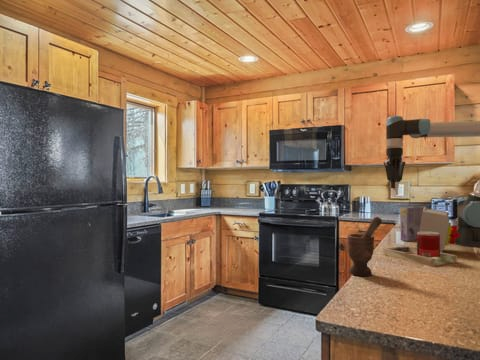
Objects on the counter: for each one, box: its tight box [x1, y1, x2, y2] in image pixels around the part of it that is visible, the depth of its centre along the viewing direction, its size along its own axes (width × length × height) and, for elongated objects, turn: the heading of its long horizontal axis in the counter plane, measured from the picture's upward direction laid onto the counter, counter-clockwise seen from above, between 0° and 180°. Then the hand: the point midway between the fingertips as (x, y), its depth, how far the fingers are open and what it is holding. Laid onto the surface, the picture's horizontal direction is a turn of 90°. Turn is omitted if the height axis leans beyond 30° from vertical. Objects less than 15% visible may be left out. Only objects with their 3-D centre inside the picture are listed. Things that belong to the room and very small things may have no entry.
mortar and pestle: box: [347, 216, 383, 277], centre depth 118 cm, size 12×9×20 cm
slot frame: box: [382, 245, 458, 267], centre depth 142 cm, size 15×22×3 cm
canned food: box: [416, 231, 440, 258], centre depth 138 cm, size 8×8×11 cm
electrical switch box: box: [419, 206, 459, 253], centre depth 155 cm, size 15×15×20 cm
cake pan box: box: [399, 206, 428, 242], centre depth 187 cm, size 19×5×18 cm, turn 122°
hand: (394, 194), depth 174 cm, fingers closed
